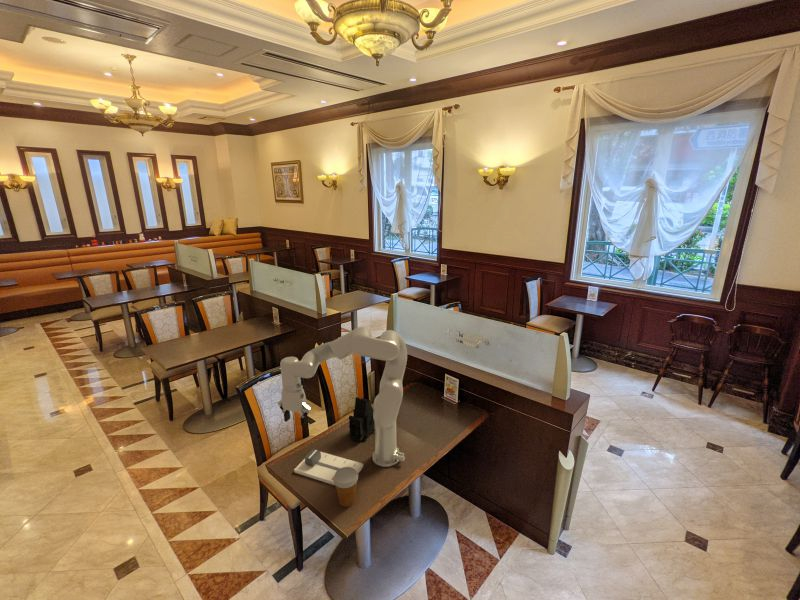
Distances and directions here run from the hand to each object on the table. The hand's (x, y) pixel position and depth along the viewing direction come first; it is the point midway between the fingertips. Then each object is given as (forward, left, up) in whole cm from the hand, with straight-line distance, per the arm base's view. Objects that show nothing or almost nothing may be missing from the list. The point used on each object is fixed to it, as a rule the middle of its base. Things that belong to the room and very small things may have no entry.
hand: (295, 421), depth 161 cm
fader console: (-15, 0, -20) cm, 25 cm away
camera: (-17, -26, -20) cm, 37 cm away
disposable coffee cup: (-31, +12, -20) cm, 39 cm away
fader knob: (-7, 0, -18) cm, 19 cm away
